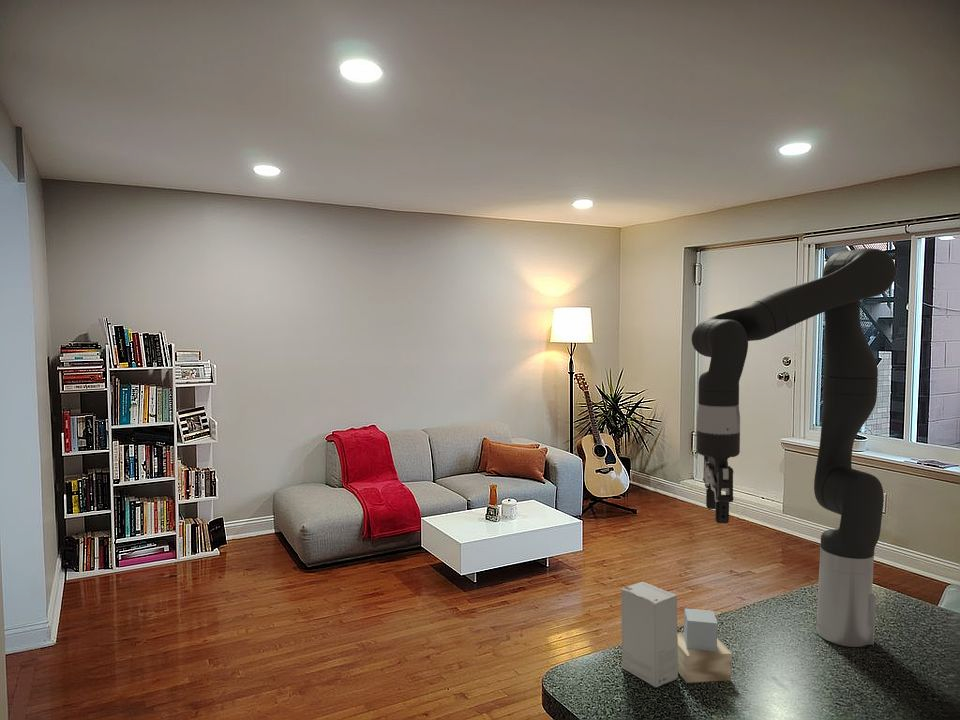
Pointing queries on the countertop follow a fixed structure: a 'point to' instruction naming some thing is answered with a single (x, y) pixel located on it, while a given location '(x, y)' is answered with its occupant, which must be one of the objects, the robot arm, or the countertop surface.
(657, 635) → the skincare box
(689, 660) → the birch block
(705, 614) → the grey-blue cube
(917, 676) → the countertop surface
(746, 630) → the countertop surface
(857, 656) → the countertop surface
